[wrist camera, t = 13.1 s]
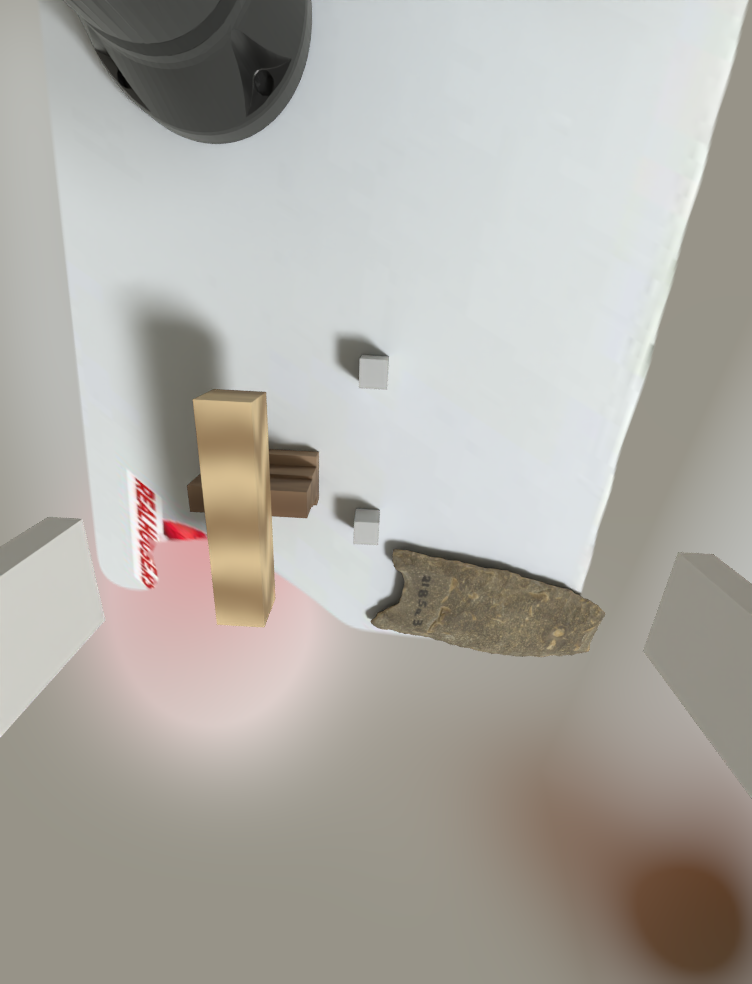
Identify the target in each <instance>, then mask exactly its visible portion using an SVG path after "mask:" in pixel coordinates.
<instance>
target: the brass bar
mask: <svg viewBox="0 0 752 984" xmlns="http://www.w3.org/2000/svg"><path fill="white" fill-rule="evenodd" d="M193 407H194V416H195V425H196V435H197V444H198V453H199V462H200V472H201V481H202V490H203V499H204V509H205V518H206V527H207V536H208V544H209V555H210V564H211V573H212V582H213V591H214V601H215V610H216V619H217V624H218V625H232V626H251V627H265V624H266V622H267V619H268V616H269V614H270V611H271V609H272V606H273V603H274V601H275V581H274V558H273V536H272V513H271V491H270V469H269V446H268V424H267V402H266V392H257V391H238V390H220V389H213V390H211V391H209V392H207V393H205V394H203V395H201V396H199V397H197V398H195V399H193Z"/></svg>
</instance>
